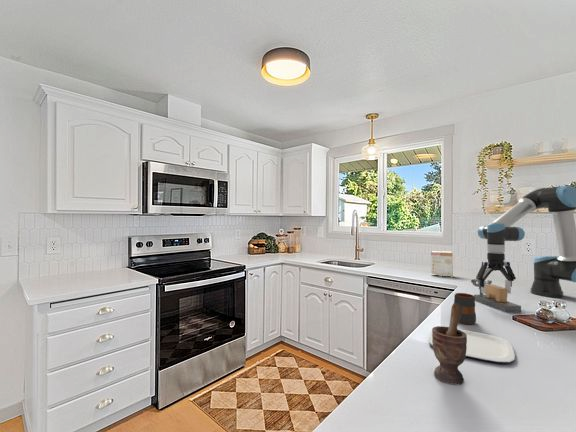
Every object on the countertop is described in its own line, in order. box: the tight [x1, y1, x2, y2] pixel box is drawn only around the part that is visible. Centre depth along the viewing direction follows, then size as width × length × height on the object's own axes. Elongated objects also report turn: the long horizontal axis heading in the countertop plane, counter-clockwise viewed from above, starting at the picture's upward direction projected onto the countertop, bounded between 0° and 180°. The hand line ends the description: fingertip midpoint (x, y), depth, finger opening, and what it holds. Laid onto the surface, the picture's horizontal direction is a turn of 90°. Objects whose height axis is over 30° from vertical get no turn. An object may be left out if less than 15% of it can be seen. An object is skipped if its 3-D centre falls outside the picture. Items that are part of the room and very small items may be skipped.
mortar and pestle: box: [431, 302, 467, 385], centre depth 86 cm, size 12×9×20 cm
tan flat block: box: [485, 283, 508, 303], centre depth 156 cm, size 4×10×10 cm, turn 5°
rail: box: [473, 294, 522, 313], centre depth 156 cm, size 8×22×3 cm, turn 5°
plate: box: [428, 328, 516, 364], centre depth 106 cm, size 25×25×2 cm
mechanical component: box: [470, 278, 493, 295], centre depth 173 cm, size 3×10×10 cm, turn 79°
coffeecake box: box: [430, 250, 454, 276], centre depth 238 cm, size 15×7×20 cm, turn 58°
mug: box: [453, 292, 477, 326], centre depth 132 cm, size 9×12×12 cm
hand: (495, 293), depth 156 cm, fingers open, 13 cm apart
